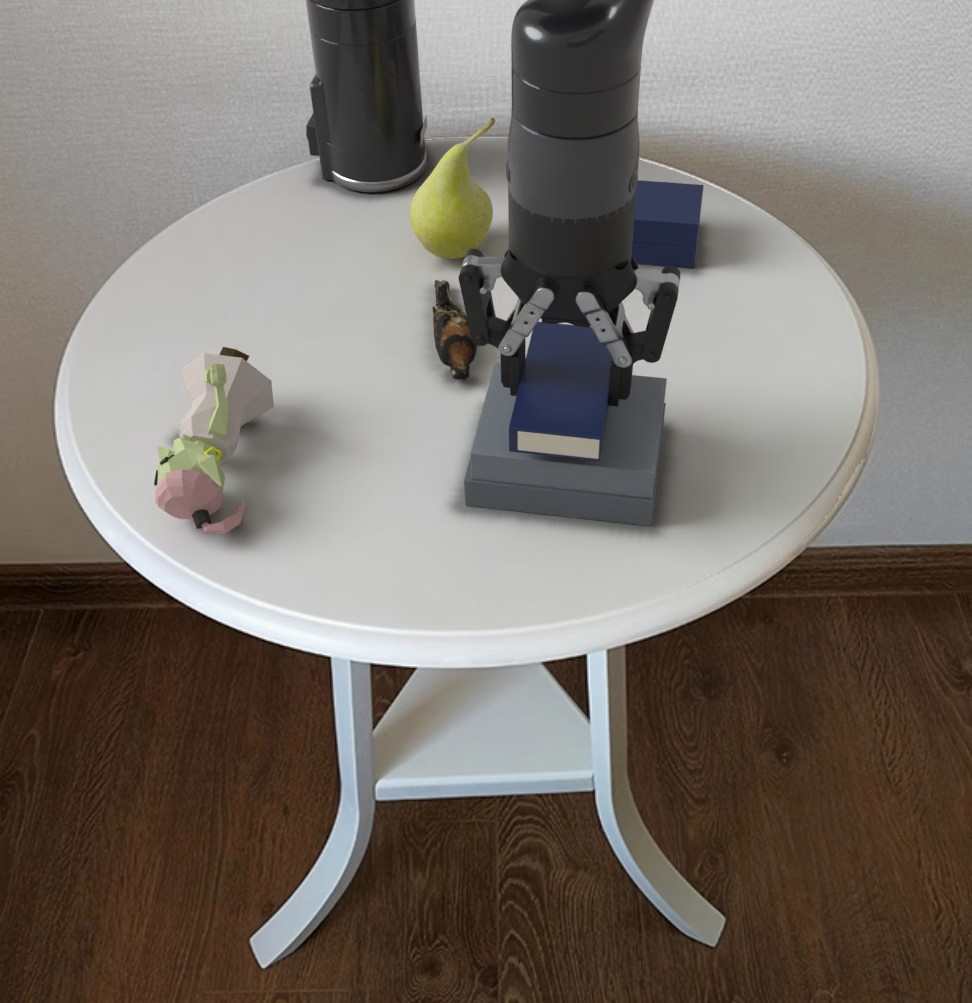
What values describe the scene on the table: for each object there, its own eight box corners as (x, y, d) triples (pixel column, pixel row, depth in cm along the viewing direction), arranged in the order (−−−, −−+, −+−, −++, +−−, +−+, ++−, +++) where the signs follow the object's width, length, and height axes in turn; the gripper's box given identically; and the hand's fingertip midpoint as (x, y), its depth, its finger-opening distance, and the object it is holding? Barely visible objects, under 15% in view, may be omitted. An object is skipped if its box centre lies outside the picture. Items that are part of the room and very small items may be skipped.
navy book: (508, 451, 82) (508, 427, 80) (534, 345, 89) (534, 320, 88) (599, 462, 81) (601, 437, 79) (618, 353, 88) (619, 329, 87)
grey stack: (465, 505, 87) (462, 454, 83) (490, 410, 94) (488, 359, 90) (651, 526, 85) (656, 475, 82) (663, 427, 92) (668, 376, 88)
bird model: (440, 395, 95) (438, 368, 93) (428, 289, 104) (426, 263, 102) (481, 391, 95) (480, 365, 93) (466, 286, 105) (465, 259, 103)
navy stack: (694, 268, 105) (699, 224, 102) (564, 258, 107) (565, 214, 104) (698, 228, 109) (703, 184, 106) (573, 218, 111) (575, 175, 108)
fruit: (405, 236, 110) (394, 111, 101) (486, 220, 111) (482, 96, 102) (425, 279, 105) (415, 153, 97) (509, 262, 107) (507, 136, 98)
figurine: (205, 308, 88) (144, 466, 79) (302, 349, 91) (254, 508, 81) (174, 381, 95) (114, 536, 85) (265, 418, 97) (217, 573, 87)
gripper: (701, 152, 74) (676, 368, 86) (463, 134, 76) (472, 347, 88) (692, 225, 69) (667, 443, 81) (438, 203, 71) (451, 419, 83)
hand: (565, 392), depth 85 cm, fingers closed on navy book, 6 cm apart
